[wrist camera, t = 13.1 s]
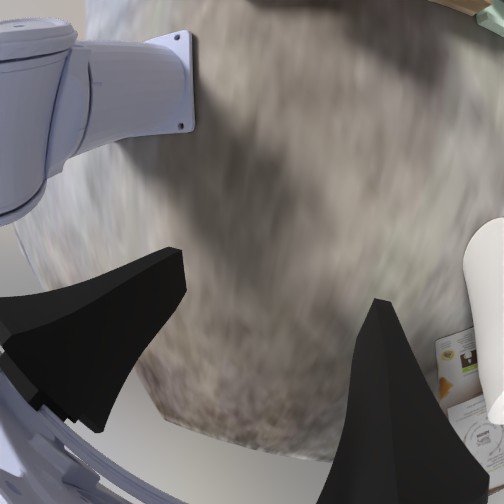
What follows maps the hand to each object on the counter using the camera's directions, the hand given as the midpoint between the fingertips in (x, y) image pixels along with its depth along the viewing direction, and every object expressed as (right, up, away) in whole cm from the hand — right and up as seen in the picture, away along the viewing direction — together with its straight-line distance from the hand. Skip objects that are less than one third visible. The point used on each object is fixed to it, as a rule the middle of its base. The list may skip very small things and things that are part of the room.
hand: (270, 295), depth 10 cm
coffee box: (+21, -9, +11) cm, 26 cm away
